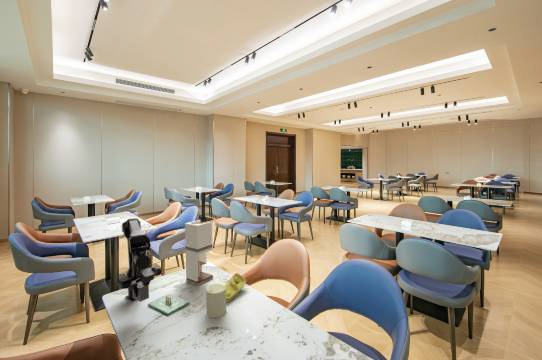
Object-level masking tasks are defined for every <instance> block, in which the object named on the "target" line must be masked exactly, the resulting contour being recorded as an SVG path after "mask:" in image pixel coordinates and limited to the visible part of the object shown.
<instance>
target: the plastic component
mask: <svg viewBox="0 0 542 360" xmlns="http://www.w3.org/2000/svg"><path fill="white" fill-rule="evenodd" d="M246 282H247V281H246V278H245V277H244V276H243V275H241V274H239V273H238V272H236V273H235V274H234V275H233V276H232V277H231V278H230V279H229V280H228V282H226V283H225V284H223V285H224V286H225V287H226V303H229V302H230V301H232V300H233V298H235V297H236V296H237V295H238V294H240V291H241V290H242V289H243V288H244V287H245V285H246Z"/></svg>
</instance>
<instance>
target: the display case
mask: <svg viewBox="0 0 542 360" xmlns="http://www.w3.org/2000/svg"><path fill="white" fill-rule="evenodd" d="M184 239H185V240H184V241H185V277H186V278H185V279H186V280H185V282H188V283H190V284H193V285H195V286H201V285H202V284H204V283H206V282H208V281H210V280H212V279H214V275H213V274H210V273H208V272H205V271H203V267H202V266H205V265H206V264H207V253H208V252H211V251H212V250H213V222H212V221H208V222H204V223H202V220H201V219H198V220H194V221H189V222H185V223H184Z"/></svg>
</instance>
